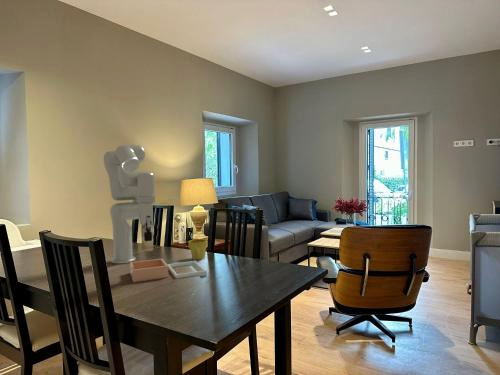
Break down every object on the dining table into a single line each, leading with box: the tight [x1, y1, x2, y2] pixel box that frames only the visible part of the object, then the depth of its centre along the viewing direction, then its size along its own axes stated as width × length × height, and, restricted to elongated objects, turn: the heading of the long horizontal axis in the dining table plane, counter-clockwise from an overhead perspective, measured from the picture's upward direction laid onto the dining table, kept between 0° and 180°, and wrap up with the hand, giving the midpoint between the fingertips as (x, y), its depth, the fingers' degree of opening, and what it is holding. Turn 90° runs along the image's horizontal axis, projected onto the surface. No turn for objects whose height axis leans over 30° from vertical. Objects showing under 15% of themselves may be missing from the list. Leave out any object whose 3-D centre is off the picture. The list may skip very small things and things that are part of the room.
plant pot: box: [188, 238, 208, 261], centre depth 190 cm, size 10×10×10 cm
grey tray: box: [166, 260, 208, 279], centre depth 163 cm, size 20×14×2 cm
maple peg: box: [140, 224, 154, 252], centre depth 157 cm, size 5×5×12 cm
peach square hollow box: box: [129, 258, 170, 283], centre depth 157 cm, size 15×15×6 cm
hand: (147, 239), depth 157 cm, fingers closed on maple peg, 5 cm apart
